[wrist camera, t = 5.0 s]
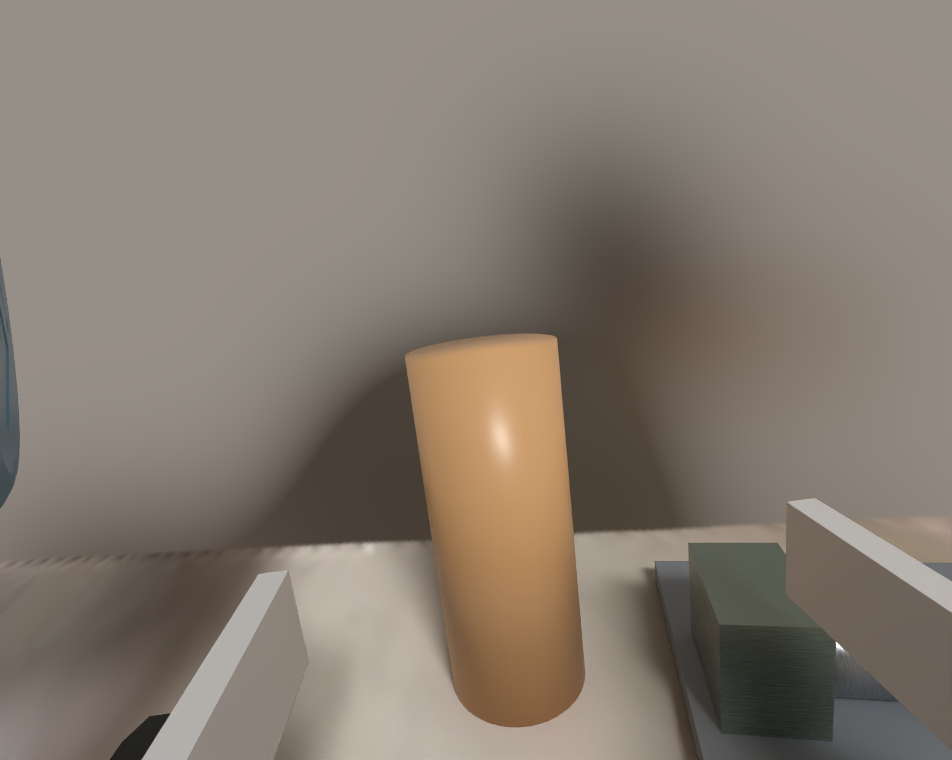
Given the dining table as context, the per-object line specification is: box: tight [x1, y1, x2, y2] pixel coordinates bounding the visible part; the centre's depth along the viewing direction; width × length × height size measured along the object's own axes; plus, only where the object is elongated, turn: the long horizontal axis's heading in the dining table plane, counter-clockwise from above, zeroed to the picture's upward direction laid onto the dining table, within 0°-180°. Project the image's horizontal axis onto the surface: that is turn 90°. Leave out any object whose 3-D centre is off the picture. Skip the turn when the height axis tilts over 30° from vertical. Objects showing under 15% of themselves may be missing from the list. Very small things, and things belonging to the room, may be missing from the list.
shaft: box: [688, 543, 897, 742], centre depth 16 cm, size 7×4×4 cm, turn 79°
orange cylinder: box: [405, 334, 585, 727], centre depth 19 cm, size 5×5×13 cm
